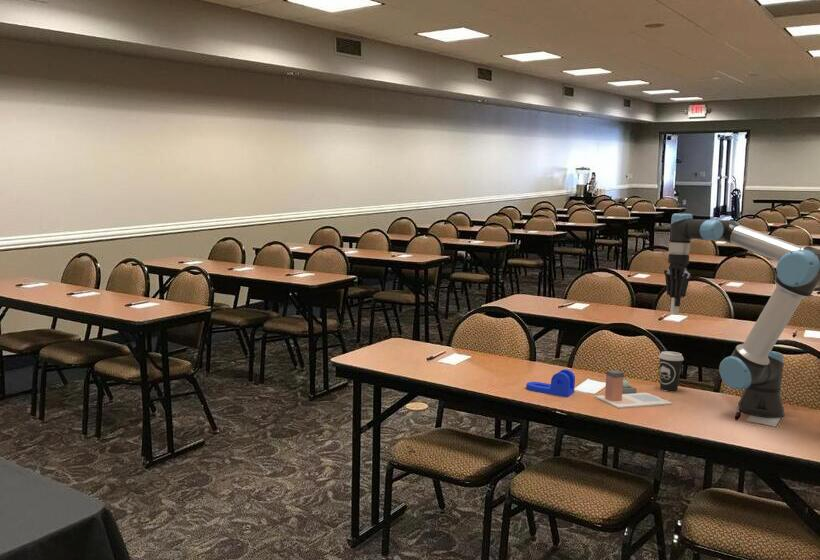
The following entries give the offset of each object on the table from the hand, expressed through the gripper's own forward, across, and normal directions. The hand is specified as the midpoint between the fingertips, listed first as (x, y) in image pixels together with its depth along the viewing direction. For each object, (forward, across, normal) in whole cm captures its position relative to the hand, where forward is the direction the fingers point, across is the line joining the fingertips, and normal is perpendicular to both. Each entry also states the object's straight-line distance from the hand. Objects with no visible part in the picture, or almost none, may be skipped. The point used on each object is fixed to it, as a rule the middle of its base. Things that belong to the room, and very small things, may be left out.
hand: (674, 314), depth 269 cm
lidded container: (+32, -2, +27) cm, 42 cm away
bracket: (+33, +16, +44) cm, 57 cm away
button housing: (+32, +8, +15) cm, 37 cm away
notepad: (+32, -4, +19) cm, 38 cm away
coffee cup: (+33, +8, -7) cm, 34 cm away
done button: (+32, +8, +15) cm, 36 cm away
